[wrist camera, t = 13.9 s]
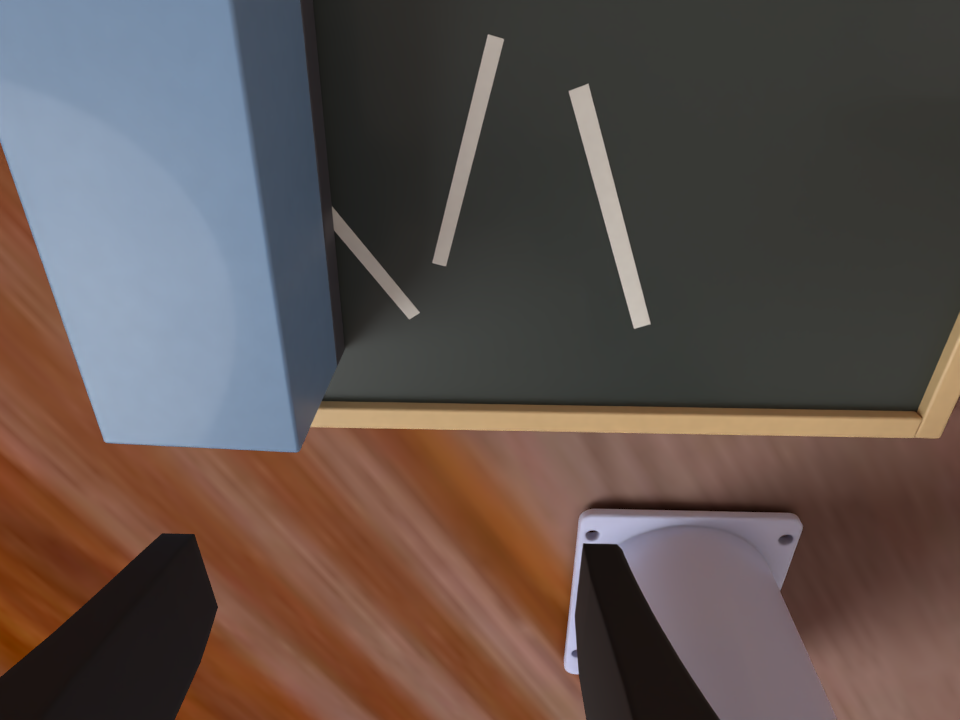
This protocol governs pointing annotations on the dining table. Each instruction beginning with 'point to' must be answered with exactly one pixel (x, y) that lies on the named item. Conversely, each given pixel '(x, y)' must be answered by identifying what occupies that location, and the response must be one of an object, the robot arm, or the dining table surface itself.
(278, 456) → the dining table surface
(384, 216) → the slate board
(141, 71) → the eraser
